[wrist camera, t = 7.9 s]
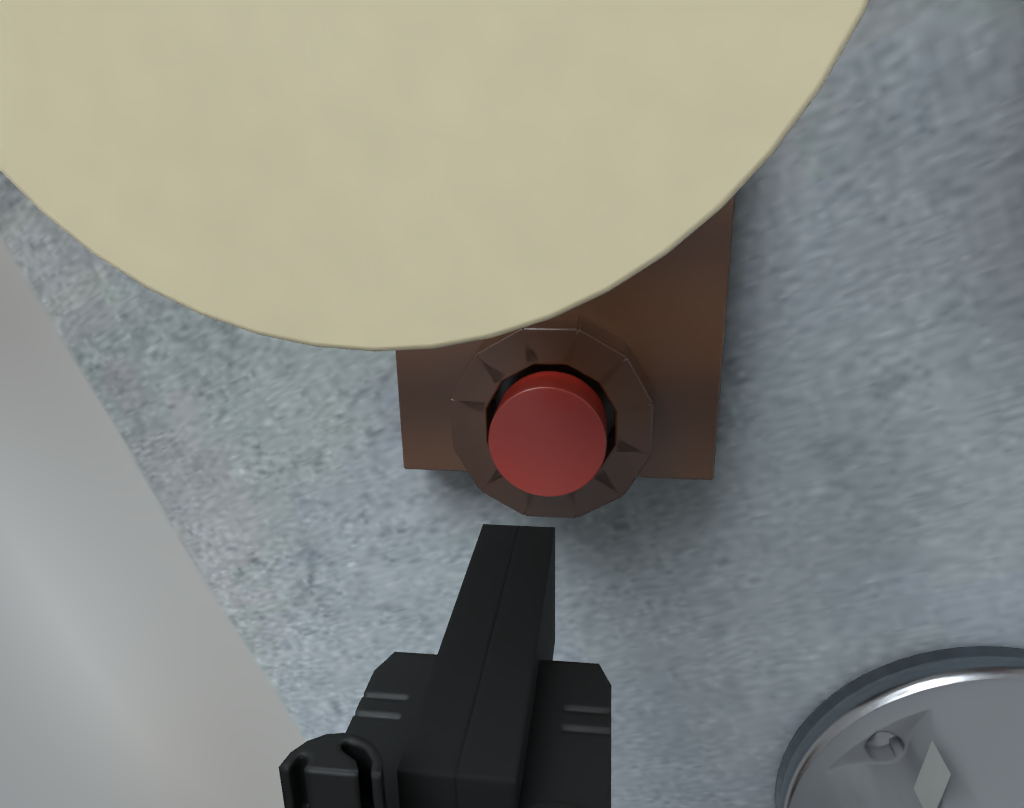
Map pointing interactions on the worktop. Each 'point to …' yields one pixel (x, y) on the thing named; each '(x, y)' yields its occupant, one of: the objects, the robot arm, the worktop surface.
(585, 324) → the lamp base
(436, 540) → the worktop surface
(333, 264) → the lamp
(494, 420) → the switch
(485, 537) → the robot arm
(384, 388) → the worktop surface
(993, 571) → the worktop surface
